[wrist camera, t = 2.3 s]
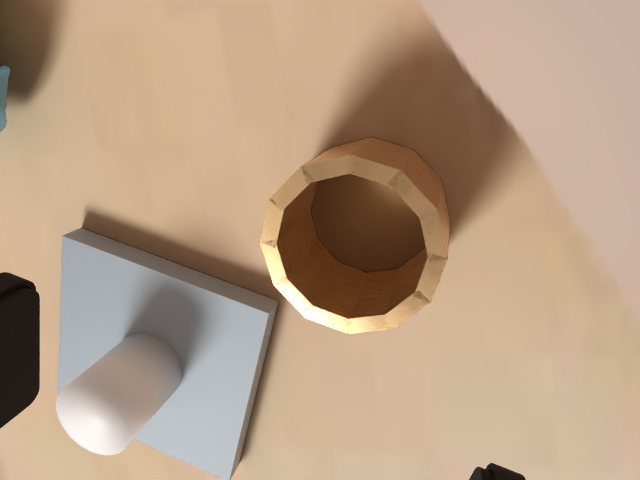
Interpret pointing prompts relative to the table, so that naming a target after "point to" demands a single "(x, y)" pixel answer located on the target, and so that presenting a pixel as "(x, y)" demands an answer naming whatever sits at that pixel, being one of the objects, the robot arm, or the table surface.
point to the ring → (342, 280)
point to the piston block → (156, 354)
